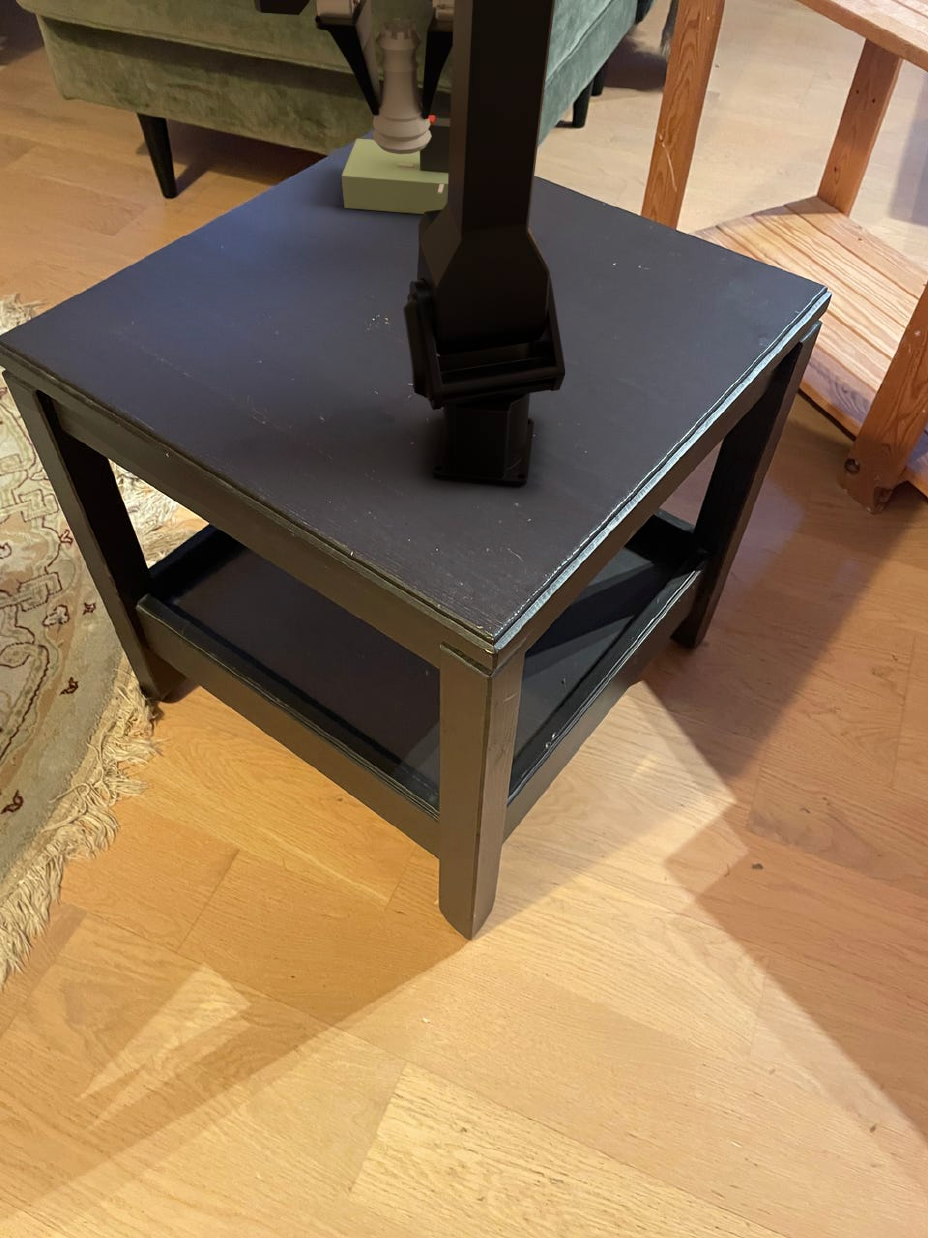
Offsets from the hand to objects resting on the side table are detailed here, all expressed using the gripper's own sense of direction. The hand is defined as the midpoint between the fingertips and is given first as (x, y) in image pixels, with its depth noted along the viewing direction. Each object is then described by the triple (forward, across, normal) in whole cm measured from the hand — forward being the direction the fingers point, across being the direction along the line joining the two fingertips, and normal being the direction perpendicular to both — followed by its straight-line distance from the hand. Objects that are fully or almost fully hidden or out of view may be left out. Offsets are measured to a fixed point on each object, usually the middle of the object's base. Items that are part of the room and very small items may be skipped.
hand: (401, 114), depth 69 cm
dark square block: (+9, -2, -10) cm, 14 cm away
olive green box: (+12, 0, -10) cm, 16 cm away
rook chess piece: (+2, 0, 0) cm, 2 cm away
